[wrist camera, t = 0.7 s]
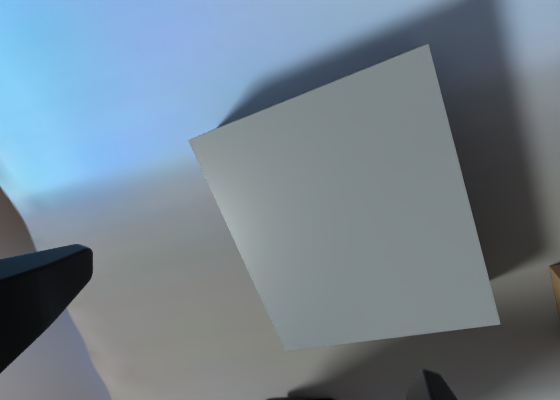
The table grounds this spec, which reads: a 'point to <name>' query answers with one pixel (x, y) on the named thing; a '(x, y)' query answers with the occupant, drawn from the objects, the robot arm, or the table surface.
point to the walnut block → (556, 283)
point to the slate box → (353, 209)
